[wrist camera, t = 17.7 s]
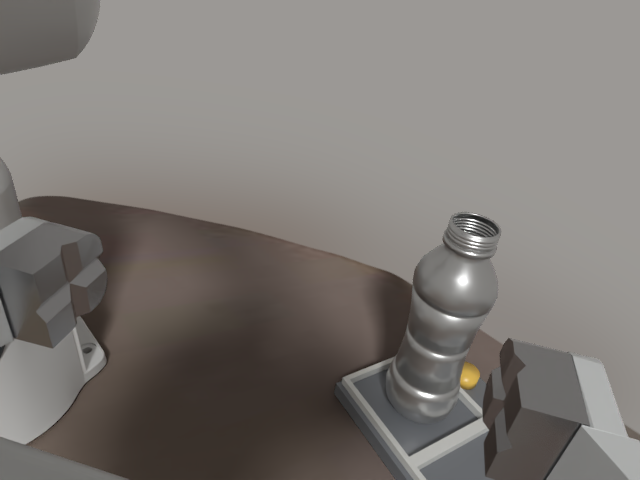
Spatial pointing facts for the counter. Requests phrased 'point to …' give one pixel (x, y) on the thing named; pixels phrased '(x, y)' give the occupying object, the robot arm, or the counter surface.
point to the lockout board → (419, 428)
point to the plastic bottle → (444, 319)
